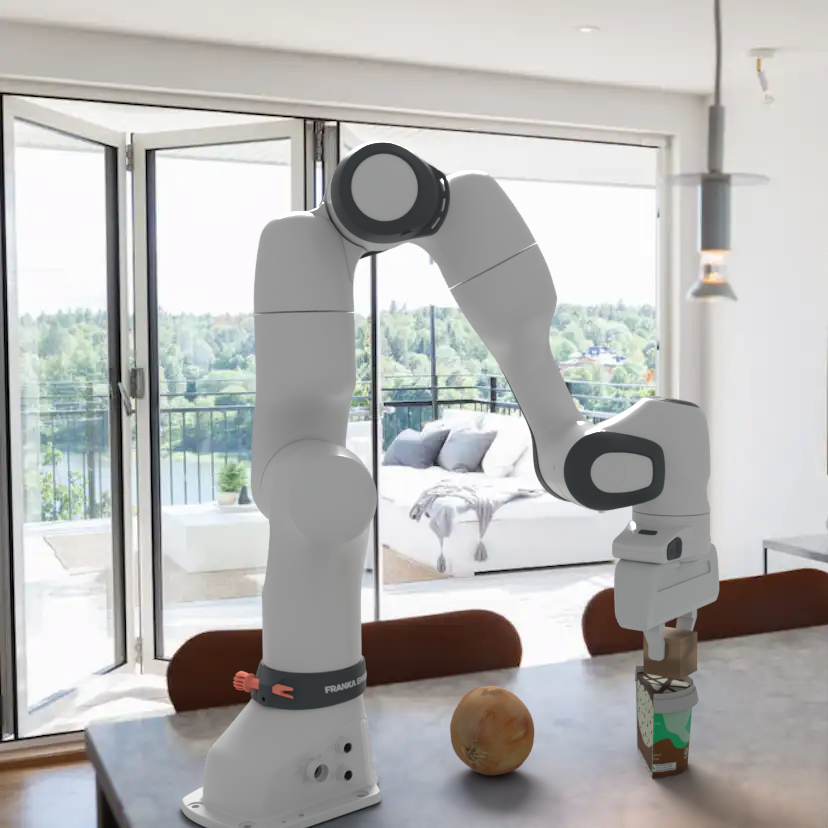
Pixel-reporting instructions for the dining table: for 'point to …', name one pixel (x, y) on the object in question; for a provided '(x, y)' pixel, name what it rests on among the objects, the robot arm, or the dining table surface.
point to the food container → (664, 722)
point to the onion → (492, 730)
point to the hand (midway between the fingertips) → (670, 653)
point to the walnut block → (674, 655)
